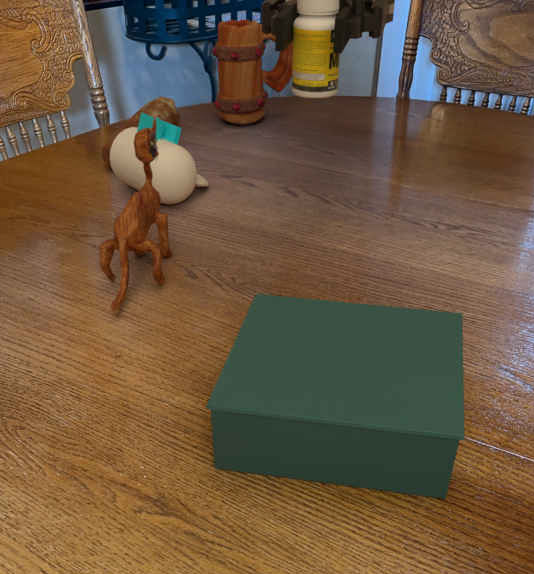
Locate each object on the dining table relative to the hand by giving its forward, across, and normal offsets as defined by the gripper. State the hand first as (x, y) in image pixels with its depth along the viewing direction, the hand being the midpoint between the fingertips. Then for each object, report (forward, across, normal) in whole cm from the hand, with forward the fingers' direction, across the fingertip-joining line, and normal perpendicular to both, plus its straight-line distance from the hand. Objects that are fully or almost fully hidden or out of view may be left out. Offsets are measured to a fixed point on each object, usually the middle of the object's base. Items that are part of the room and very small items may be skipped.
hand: (308, 35), depth 64 cm
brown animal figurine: (+8, +16, -22) cm, 28 cm away
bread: (-32, +30, -22) cm, 48 cm away
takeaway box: (+28, -8, -22) cm, 36 cm away
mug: (-52, +17, -22) cm, 59 cm away
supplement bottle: (-5, 0, -6) cm, 8 cm away
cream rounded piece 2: (-17, +20, -22) cm, 34 cm away
